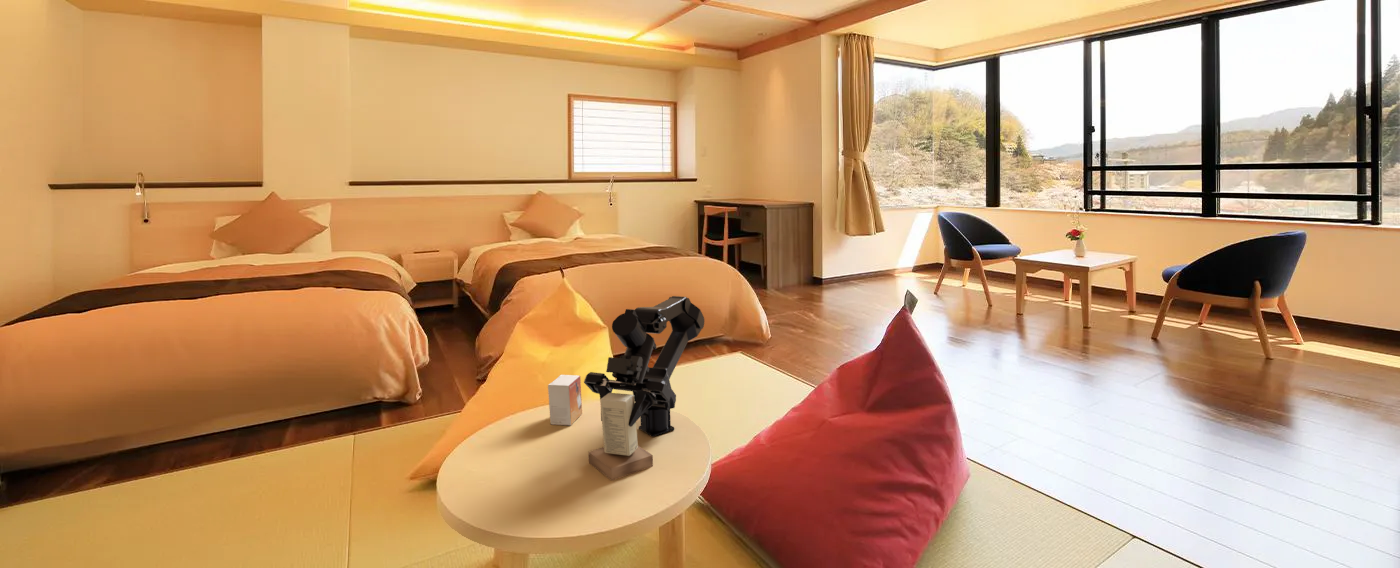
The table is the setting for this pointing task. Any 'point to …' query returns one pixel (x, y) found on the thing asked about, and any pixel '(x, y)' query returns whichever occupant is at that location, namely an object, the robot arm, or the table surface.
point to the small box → (565, 399)
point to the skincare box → (618, 424)
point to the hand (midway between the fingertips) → (616, 423)
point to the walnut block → (620, 462)
